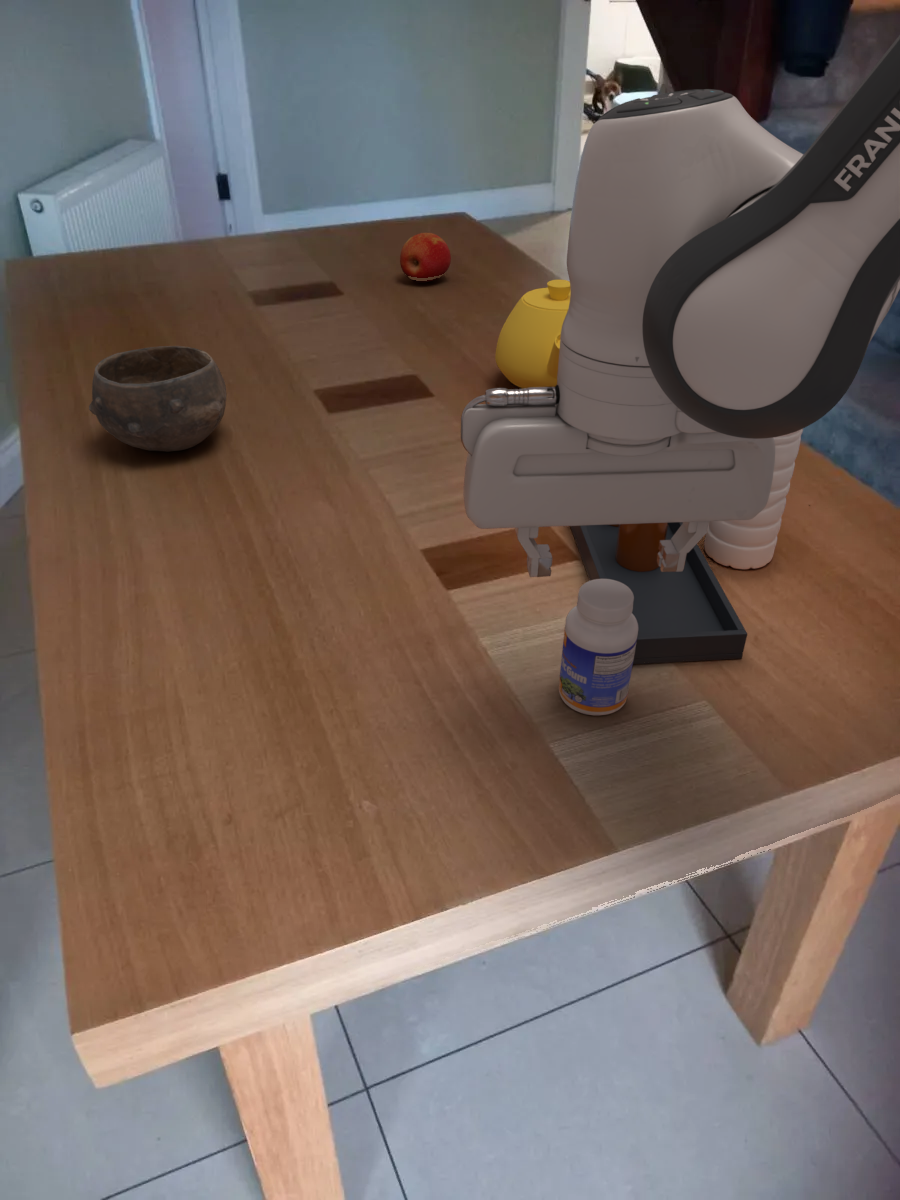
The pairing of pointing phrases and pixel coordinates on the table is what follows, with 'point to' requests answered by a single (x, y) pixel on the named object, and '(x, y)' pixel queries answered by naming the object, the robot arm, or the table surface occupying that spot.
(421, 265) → the apple
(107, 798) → the table surface
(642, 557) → the amber bottle
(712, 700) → the table surface
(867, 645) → the table surface
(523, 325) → the teapot
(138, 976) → the table surface
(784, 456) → the water bottle
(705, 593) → the tray
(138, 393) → the bowl
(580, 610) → the pill bottle
